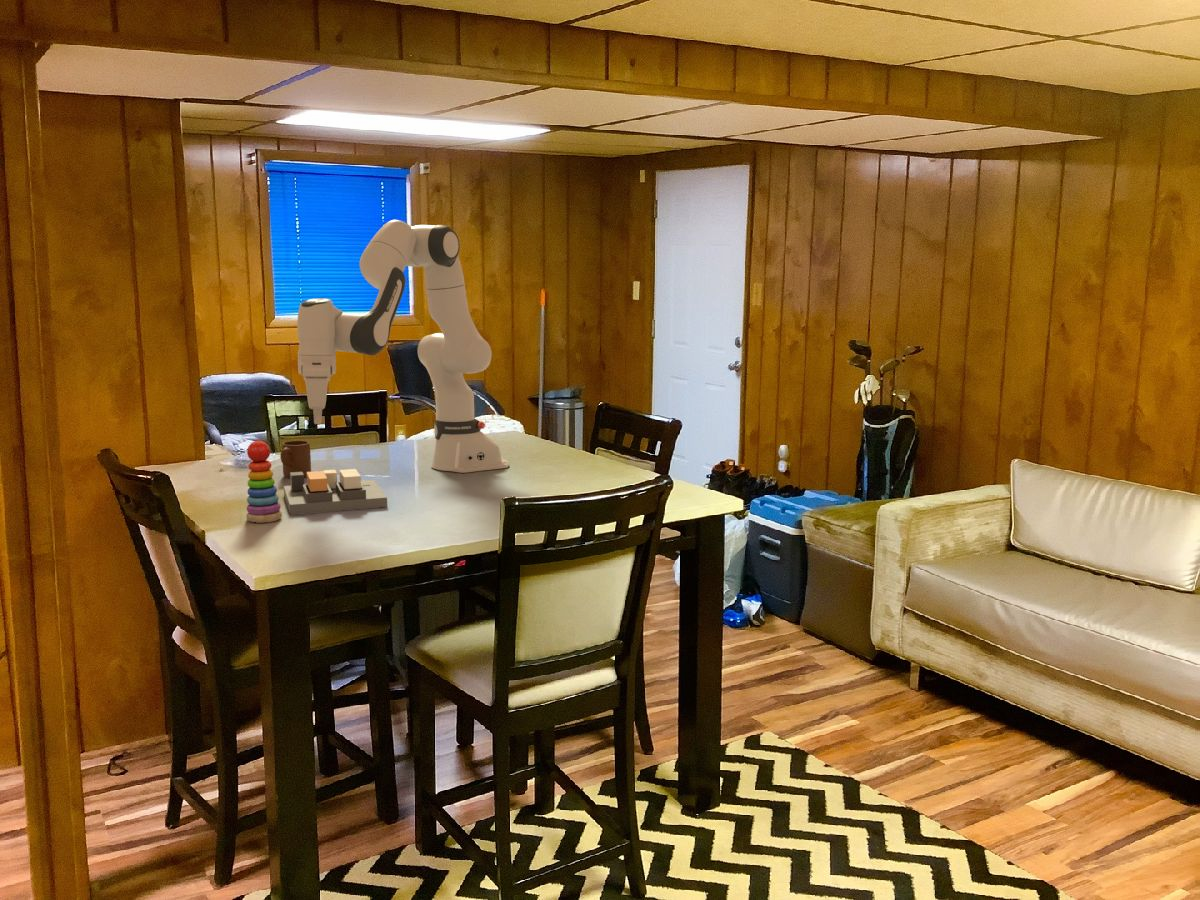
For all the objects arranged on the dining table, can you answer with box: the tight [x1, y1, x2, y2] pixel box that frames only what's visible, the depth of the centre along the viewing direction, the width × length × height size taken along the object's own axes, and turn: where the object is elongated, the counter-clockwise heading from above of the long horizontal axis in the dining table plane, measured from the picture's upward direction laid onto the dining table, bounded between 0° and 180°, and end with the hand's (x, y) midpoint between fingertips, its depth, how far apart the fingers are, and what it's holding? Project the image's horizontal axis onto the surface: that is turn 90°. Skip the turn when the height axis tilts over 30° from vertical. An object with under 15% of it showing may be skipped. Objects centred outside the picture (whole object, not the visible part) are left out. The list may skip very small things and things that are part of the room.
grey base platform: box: [283, 479, 388, 516], centre depth 255 cm, size 23×21×5 cm
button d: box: [339, 468, 362, 489], centre depth 251 cm, size 4×9×3 cm, turn 21°
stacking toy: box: [245, 440, 283, 524], centre depth 236 cm, size 8×8×19 cm
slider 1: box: [289, 472, 305, 491], centre depth 256 cm, size 3×4×4 cm
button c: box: [306, 470, 327, 492], centre depth 249 cm, size 4×9×3 cm, turn 21°
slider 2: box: [322, 469, 338, 489], centre depth 259 cm, size 3×4×4 cm
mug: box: [279, 440, 312, 479], centre depth 281 cm, size 12×8×9 cm, turn 170°
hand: (317, 423), depth 247 cm, fingers closed
